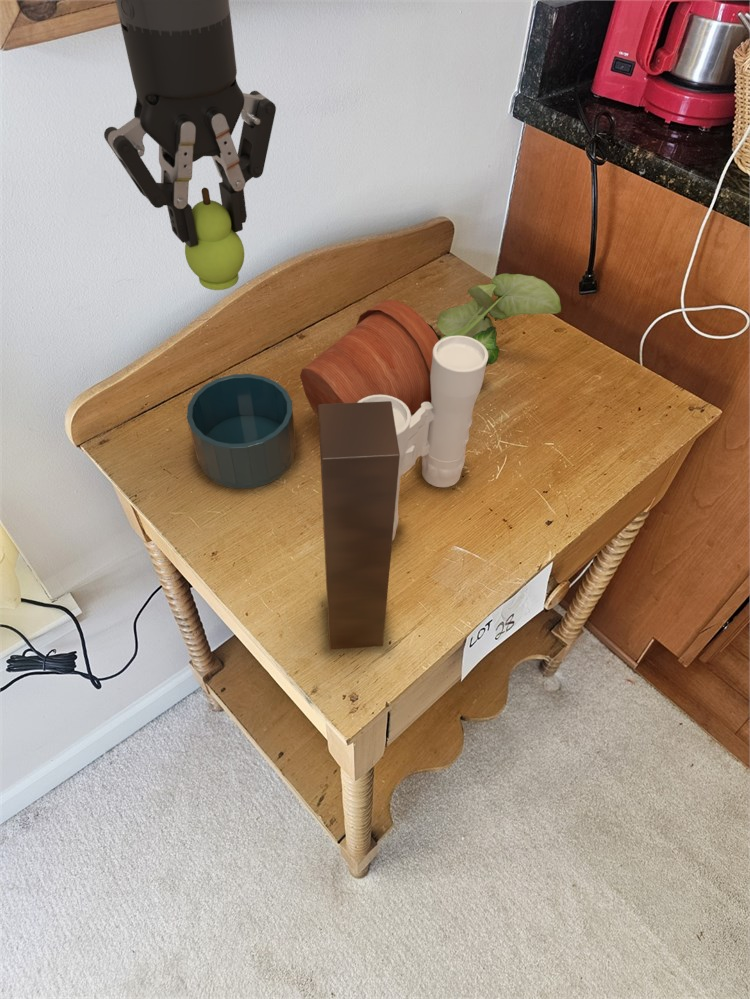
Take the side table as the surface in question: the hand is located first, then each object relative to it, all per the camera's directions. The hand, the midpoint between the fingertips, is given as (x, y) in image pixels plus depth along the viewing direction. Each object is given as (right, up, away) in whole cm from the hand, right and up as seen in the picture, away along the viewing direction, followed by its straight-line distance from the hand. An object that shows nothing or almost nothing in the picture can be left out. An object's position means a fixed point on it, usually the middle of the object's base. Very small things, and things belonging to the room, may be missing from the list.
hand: (211, 234), depth 61 cm
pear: (0, -3, +4) cm, 5 cm away
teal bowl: (-1, -17, +22) cm, 28 cm away
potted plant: (+21, -8, +31) cm, 38 cm away
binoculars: (+18, -24, +19) cm, 35 cm away
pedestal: (+12, -36, +8) cm, 39 cm away
